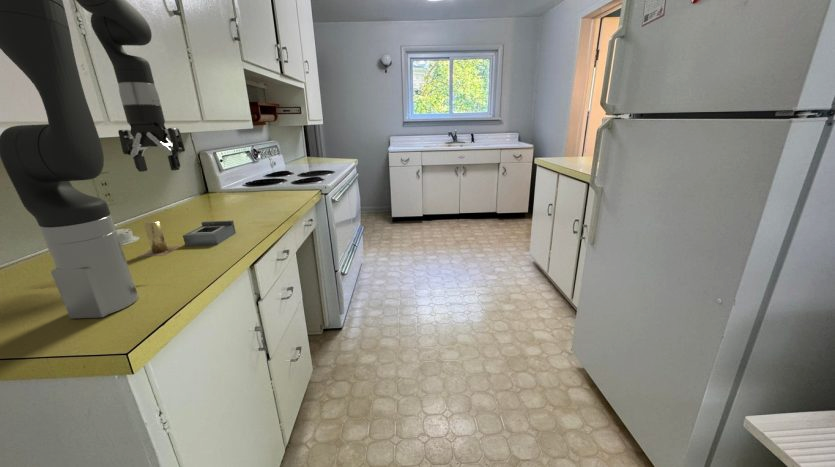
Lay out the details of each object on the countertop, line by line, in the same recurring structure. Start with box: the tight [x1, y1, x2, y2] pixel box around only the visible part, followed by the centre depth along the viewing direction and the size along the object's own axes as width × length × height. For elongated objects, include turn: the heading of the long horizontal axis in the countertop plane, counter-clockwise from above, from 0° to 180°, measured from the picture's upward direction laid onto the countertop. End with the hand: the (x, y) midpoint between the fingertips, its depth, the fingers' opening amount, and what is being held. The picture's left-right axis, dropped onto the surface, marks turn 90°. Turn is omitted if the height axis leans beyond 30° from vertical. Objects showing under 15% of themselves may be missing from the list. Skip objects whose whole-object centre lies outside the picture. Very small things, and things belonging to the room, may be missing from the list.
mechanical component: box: [116, 228, 140, 247], centre depth 99 cm, size 10×4×10 cm
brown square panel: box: [137, 245, 182, 258], centre depth 91 cm, size 7×7×1 cm
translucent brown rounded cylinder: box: [143, 220, 168, 253], centre depth 90 cm, size 3×3×8 cm
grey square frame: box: [182, 220, 237, 247], centre depth 98 cm, size 10×9×5 cm
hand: (159, 170), depth 88 cm, fingers open, 8 cm apart
